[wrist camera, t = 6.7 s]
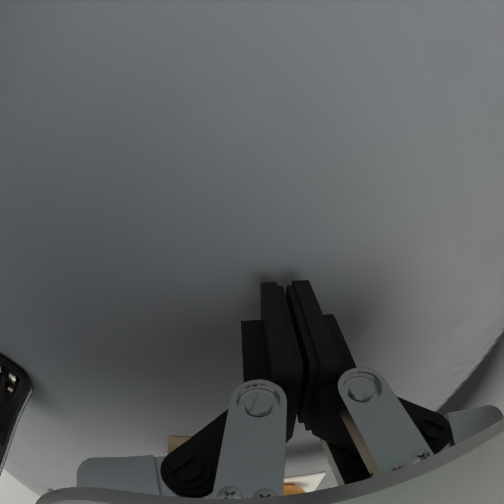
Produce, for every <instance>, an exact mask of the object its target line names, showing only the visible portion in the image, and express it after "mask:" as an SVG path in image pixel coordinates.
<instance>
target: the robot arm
mask: <svg viewBox="0 0 504 504" xmlns="http://www.w3.org/2000/svg"><path fill="white" fill-rule="evenodd" d="M241 329H242V353H243V374H244V383H243V384H241V385H239V386H238V387H237V388H236V389H235V390H234V391H233V393H232V396H231V398H230V404H229V409H227V410H226V411H225V412H224V413H222V414H221V415H220V416H219V417H217V418H216V419H215V420H214V421H212V422H211V423H210V424H208V425H207V426H206V427H205V428H203V429H202V430H201V431H199V432H198V433H197V434H195V435H194V436H193V437H191V438H190V439H189V440H187V441H186V442H184V443H183V444H182V445H180V446H179V447H177V448H176V449H175V450H173V451H172V452H170V453H169V454H168V455H167V456H163V457H154V456H153V455H147V456H133V457H101V458H99V457H95V458H89V459H87V460H85V461H83V462H82V463H81V465H80V466H79V467H78V471H77V487H70V488H61V489H57V490H53V491H50V492H47V493H45V494H44V495H42V496H41V497H40V498H39V499H38V501H37V502H36V504H504V416H503V414H502V412H501V411H500V410H499V409H498V408H497V407H495V406H493V405H486V406H482V407H477V408H473V409H468V410H462V411H457V412H451V413H447V415H446V416H442V415H440V414H438V413H436V412H434V411H431V410H428V409H426V408H423V407H421V406H418V405H416V404H414V403H411V402H409V401H406V400H404V399H402V398H399V397H397V396H396V395H395V394H394V392H393V391H392V389H391V388H390V386H389V385H388V383H387V382H386V380H385V379H384V378H383V377H382V376H381V375H380V374H379V373H378V372H376V371H374V370H372V369H369V368H360V367H359V368H357V367H356V365H355V363H354V360H353V358H352V356H351V353H350V351H349V349H348V346H347V344H346V342H345V339H344V337H343V335H342V332H341V330H340V328H339V326H338V323H337V321H336V319H335V317H334V315H332V314H328V315H323V314H322V311H321V309H320V307H319V304H318V302H317V299H316V297H315V294H314V292H313V290H312V287H311V285H310V282H309V281H308V280H302V281H293V282H292V285H287V288H286V296H285V292H284V289H283V286H277V283H276V282H269V283H261V320H251V321H241ZM296 415H297V417H298V421H299V423H304V424H305V429H306V431H307V430H312V434H313V435H315V436H317V437H319V438H320V442H321V445H322V448H323V450H324V452H325V455H326V457H327V459H328V462H329V464H330V466H331V469H332V471H333V473H334V476H335V478H336V480H337V483H338V485H339V486H338V487H333V488H328V489H323V490H318V491H312V492H306V493H299V494H292V495H284V496H283V490H284V471H285V448H286V443H287V442H288V441H289V440H290V439H291V437H292V435H293V430H294V425H295V420H296Z"/></svg>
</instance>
